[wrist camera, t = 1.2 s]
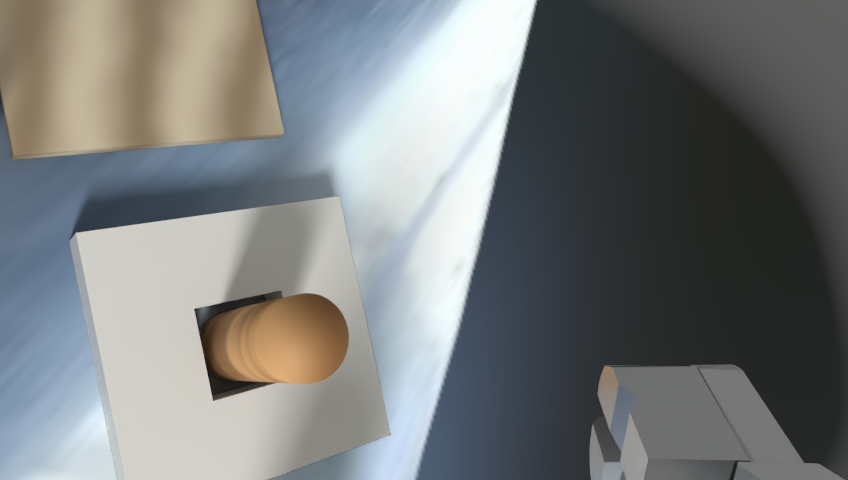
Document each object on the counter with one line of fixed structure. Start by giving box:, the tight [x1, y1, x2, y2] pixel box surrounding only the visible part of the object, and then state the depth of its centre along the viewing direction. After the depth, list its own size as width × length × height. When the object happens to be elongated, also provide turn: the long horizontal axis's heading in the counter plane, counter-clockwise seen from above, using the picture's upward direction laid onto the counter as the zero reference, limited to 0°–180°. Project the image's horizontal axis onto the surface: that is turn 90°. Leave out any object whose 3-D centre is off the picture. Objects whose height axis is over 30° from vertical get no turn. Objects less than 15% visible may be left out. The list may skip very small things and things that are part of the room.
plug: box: [199, 293, 349, 384], centre depth 40 cm, size 4×4×12 cm
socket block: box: [69, 196, 391, 480], centre depth 44 cm, size 16×16×3 cm
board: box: [0, 0, 284, 160], centre depth 44 cm, size 16×16×1 cm
